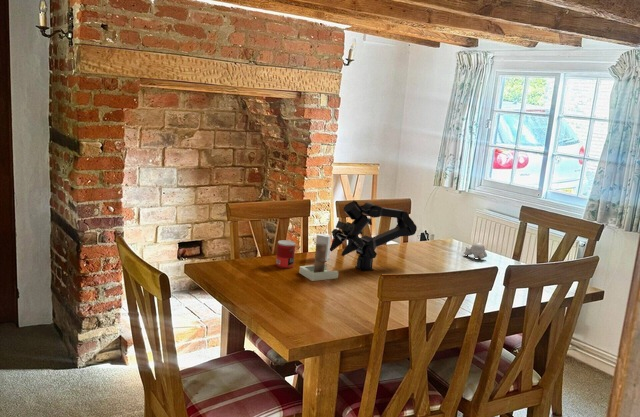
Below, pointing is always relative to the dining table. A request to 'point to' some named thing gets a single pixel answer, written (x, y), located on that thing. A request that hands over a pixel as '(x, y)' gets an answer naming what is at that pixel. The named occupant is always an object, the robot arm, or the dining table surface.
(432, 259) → the dining table surface
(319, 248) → the brown round cylinder
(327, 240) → the skincare box
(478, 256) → the chubby cartoon animal
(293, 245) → the canned food
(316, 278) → the tray
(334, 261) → the dining table surface
